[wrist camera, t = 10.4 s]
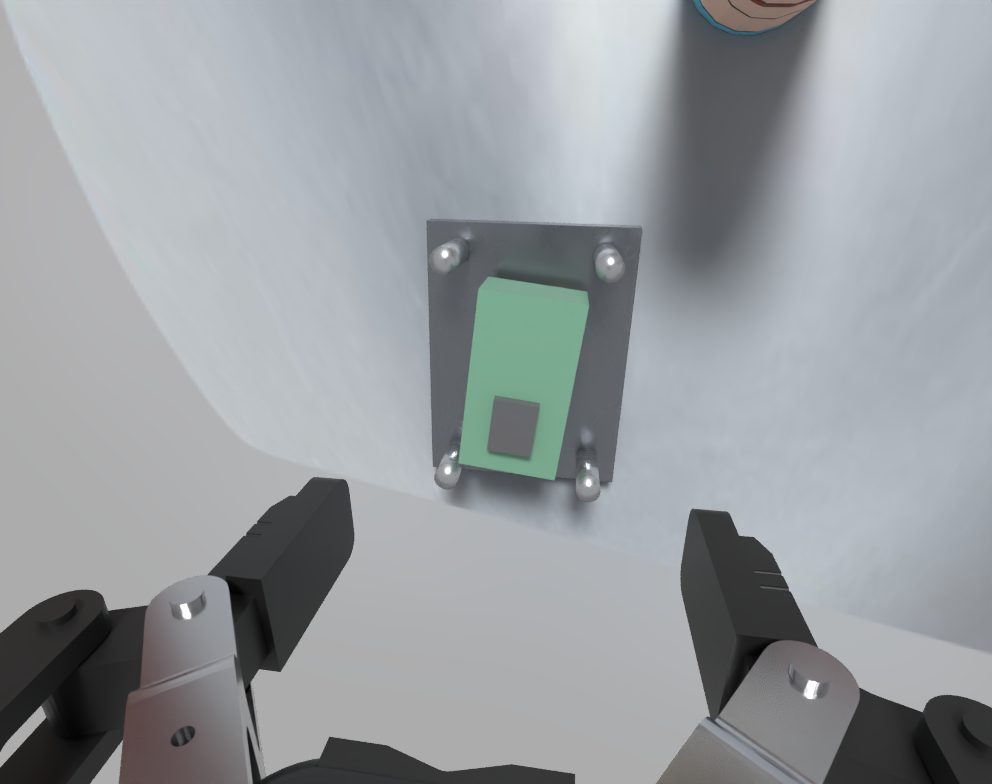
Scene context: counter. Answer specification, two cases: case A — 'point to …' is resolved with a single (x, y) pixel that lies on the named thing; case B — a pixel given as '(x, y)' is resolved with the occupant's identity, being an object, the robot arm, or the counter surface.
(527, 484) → the counter surface
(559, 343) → the green block
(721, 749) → the robot arm
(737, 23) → the printed cylinder
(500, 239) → the chassis
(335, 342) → the counter surface
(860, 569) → the counter surface
